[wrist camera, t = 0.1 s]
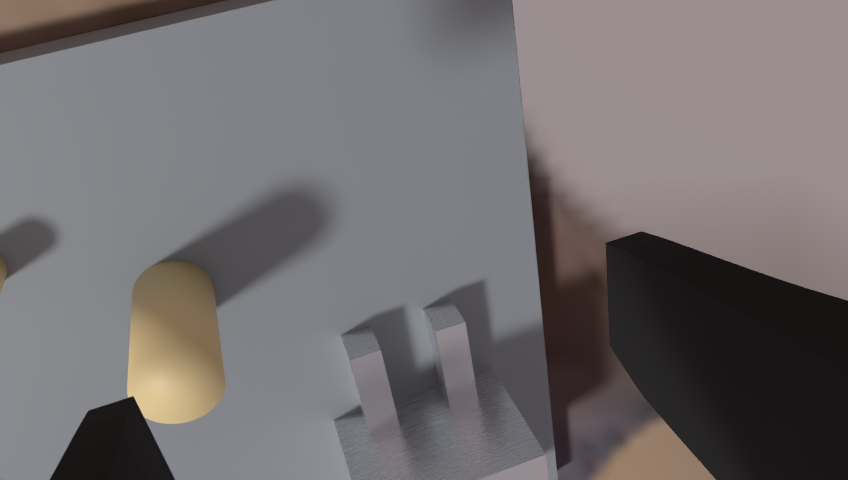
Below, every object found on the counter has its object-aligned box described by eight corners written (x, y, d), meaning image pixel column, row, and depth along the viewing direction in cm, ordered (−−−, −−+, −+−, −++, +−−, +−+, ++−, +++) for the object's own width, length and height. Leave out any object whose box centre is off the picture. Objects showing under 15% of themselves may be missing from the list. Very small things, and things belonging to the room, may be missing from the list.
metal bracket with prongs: (507, 475, 26) (557, 569, 23) (367, 528, 25) (399, 634, 22) (479, 290, 22) (537, 372, 19) (310, 345, 21) (339, 442, 18)
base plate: (545, 477, 29) (611, 587, 25) (131, 635, 26) (126, 789, 22) (487, -61, 18) (585, -30, 14) (-217, 103, 16) (-354, 203, 11)
